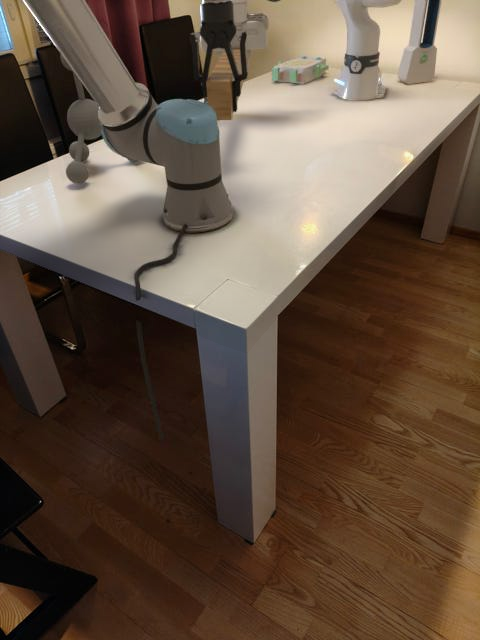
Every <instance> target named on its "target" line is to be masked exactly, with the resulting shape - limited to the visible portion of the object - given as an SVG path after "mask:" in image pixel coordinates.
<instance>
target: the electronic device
mask: <svg viewBox="0 0 480 640" xmlns="http://www.w3.org/2000/svg"><path fill="white" fill-rule="evenodd" d="M441 7H442V0H415V1H414V5H413V13H412V20H411V27H410V33H409V41H408V45H406V47H405V48H403V52H402V56H401V60H400V63H399V66H398V70H397V78H398V80H399V82H401V83H405V84H406V85H413V84H414V85H415V84H421V83H428V82H432V81H433V80H434V79H435V74H436V63H437V54H438V48H437V47H436V45H435V40H436V36H437V29H438V23H439V17H440V13H441Z"/></svg>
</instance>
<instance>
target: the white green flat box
mask: <svg viewBox="0 0 480 640" xmlns="http://www.w3.org/2000/svg"><path fill="white" fill-rule="evenodd" d="M329 67H330V66H329V65H328V64H327V58H326V57H321V56H318V57H311V56H306V55H303V56H301V57H299V58H293V59H289V60H287V61H277V64H276V65H274V67H272V68H271V81H272V82H273V81H274V82H281V83H290V84H291V83H292V84H301V85H305V84H307V83H309V82H312V81H314V80H316V79H318V78H321V77H322V76H323V75H325V74H326V71H327V70H329Z"/></svg>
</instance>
